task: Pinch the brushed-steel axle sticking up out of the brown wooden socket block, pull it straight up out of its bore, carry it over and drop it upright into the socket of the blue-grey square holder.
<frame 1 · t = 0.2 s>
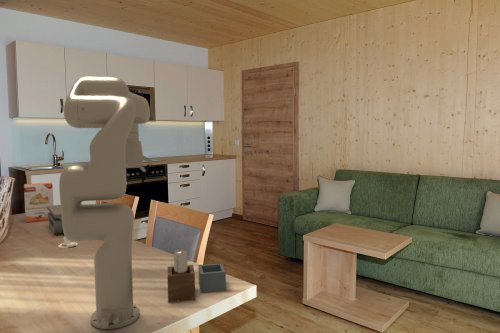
hand: (129, 182, 144), 31 cm above the table, tool pointing down, fingers open, 9 cm apart
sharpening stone: (60, 230, 193), on the table
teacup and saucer: (63, 248, 166), on the table
cracker box: (40, 220, 214), on the table
blue-grey square holder: (211, 286, 125), on the table
steel axle: (180, 273, 117), in the brown wooden socket block
brown wooden socket block: (181, 295, 118), on the table
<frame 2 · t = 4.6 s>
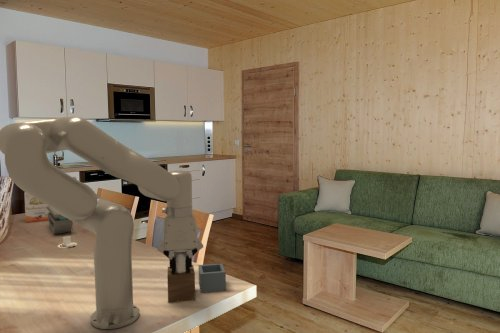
hand: (180, 269, 117), 8 cm above the table, tool pointing down, fingers closed on steel axle, 4 cm apart
steel axle: (180, 273, 117), in the brown wooden socket block, touching gripper
everything else where it was.
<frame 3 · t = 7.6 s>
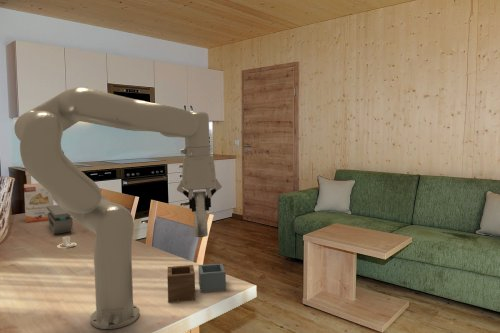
hand: (200, 209, 120), 26 cm above the table, tool pointing down, fingers closed on steel axle, 4 cm apart
steel axle: (200, 213, 120), point 25 cm above the table, touching gripper
everything else where it was.
when the fingers open (10 cm above the table, at t = 11.1 s): steel axle drops 2 cm, resting in blue-grey square holder.
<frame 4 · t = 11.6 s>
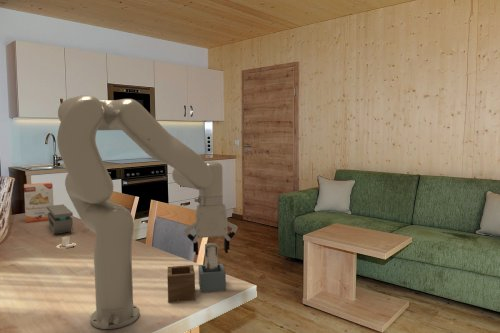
hand: (211, 252, 123), 11 cm above the table, tool pointing down, fingers open, 9 cm apart
steel axle: (211, 265, 124), in the blue-grey square holder
everything else where it was.
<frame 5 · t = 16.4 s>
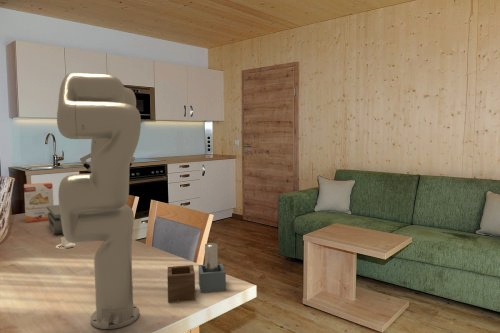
hand: (108, 182, 129), 33 cm above the table, tool pointing down, fingers open, 9 cm apart
at the end: steel axle 0.1 cm off-centre on the blue-grey square holder, point 7.0 cm above the blue-grey square holder's base; steel axle tilted 0°; the gripper is holding nothing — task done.
